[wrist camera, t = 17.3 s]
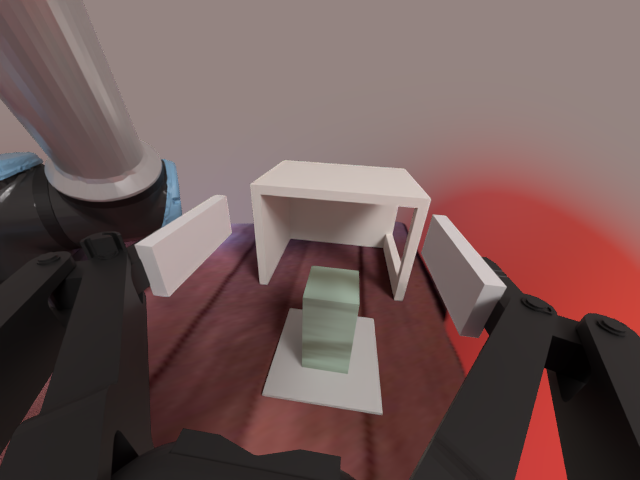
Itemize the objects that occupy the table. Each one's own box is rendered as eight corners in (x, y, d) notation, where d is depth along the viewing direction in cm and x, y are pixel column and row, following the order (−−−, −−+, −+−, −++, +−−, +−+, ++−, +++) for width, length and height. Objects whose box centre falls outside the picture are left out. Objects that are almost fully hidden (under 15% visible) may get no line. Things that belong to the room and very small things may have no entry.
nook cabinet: (402, 300, 44) (431, 198, 34) (259, 283, 46) (250, 184, 37) (388, 245, 62) (404, 168, 52) (286, 235, 64) (284, 160, 55)
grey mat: (381, 415, 27) (382, 413, 27) (262, 395, 28) (262, 393, 28) (373, 320, 39) (373, 318, 39) (289, 309, 40) (289, 308, 40)
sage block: (347, 374, 31) (359, 304, 25) (301, 367, 31) (302, 297, 25) (348, 335, 36) (358, 270, 30) (309, 330, 36) (311, 265, 31)
